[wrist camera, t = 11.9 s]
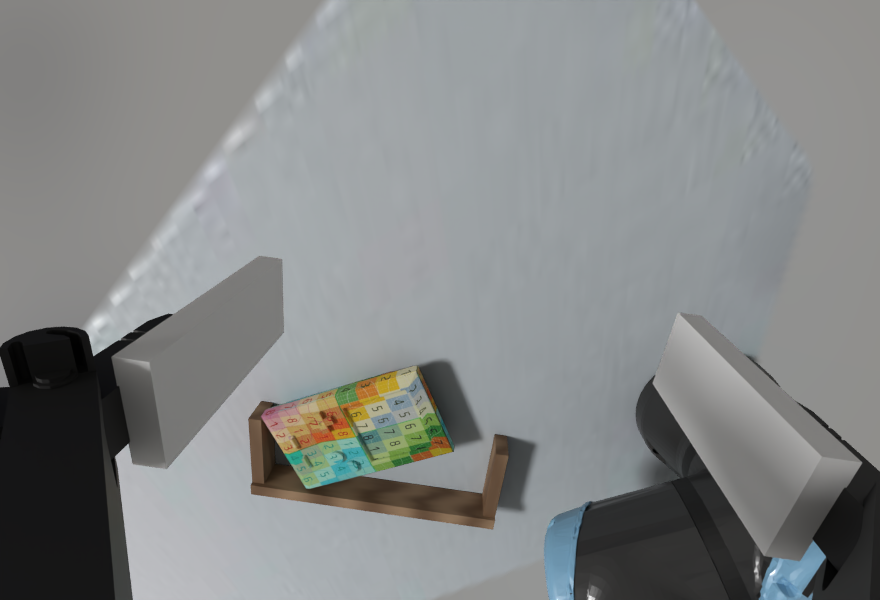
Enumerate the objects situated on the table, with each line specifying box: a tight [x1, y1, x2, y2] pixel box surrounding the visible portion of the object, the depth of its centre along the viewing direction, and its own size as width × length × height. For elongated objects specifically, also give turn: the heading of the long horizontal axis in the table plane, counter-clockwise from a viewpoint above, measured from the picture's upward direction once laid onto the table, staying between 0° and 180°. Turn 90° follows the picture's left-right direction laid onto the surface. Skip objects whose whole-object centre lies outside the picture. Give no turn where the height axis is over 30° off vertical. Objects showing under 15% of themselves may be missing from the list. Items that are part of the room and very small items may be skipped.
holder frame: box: [248, 401, 509, 529], centre depth 57 cm, size 31×12×4 cm, turn 83°
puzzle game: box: [261, 366, 454, 489], centre depth 54 cm, size 12×5×20 cm
